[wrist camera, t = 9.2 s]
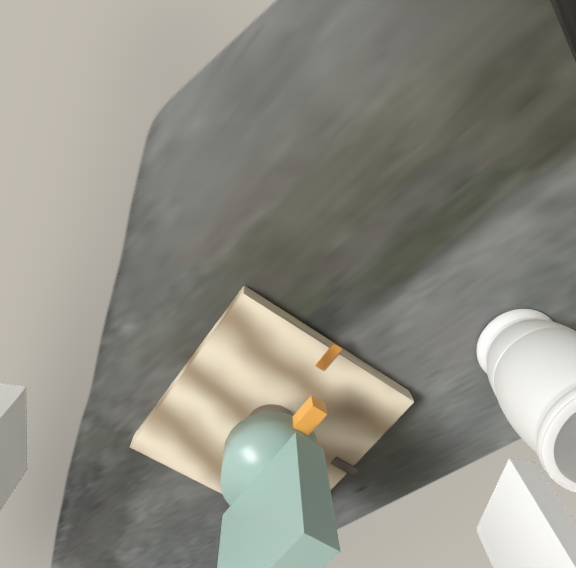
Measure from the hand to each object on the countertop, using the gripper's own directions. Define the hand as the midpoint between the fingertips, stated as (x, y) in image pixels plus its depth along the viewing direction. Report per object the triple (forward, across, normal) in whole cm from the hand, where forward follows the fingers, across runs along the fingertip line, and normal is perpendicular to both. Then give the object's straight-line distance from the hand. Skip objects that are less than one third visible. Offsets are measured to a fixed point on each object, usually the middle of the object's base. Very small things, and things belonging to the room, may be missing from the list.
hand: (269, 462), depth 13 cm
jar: (+33, +27, -10) cm, 44 cm away
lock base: (+32, +4, -23) cm, 40 cm away
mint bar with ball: (+26, +4, -22) cm, 34 cm away
